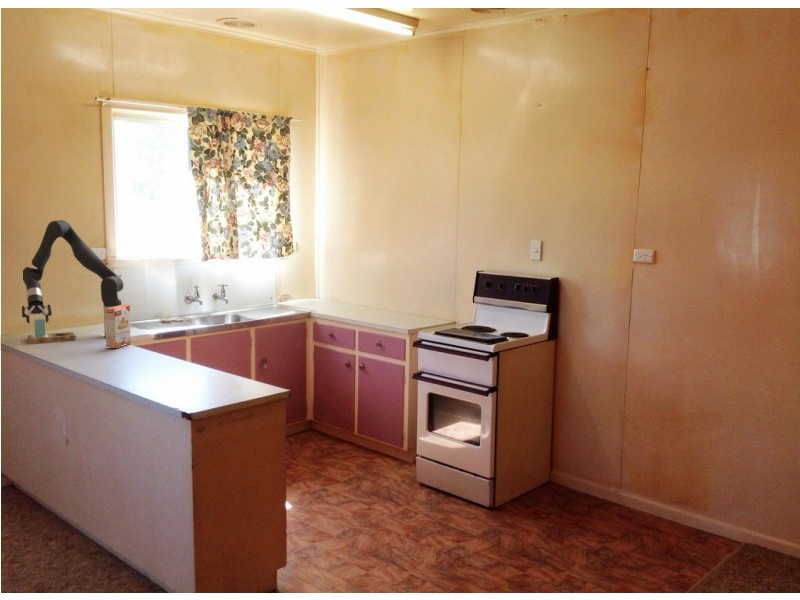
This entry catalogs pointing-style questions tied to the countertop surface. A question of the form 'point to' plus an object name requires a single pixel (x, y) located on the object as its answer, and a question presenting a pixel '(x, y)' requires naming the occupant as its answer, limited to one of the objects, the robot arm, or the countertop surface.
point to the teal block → (39, 327)
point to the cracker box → (117, 326)
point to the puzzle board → (52, 337)
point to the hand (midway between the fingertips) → (37, 322)
